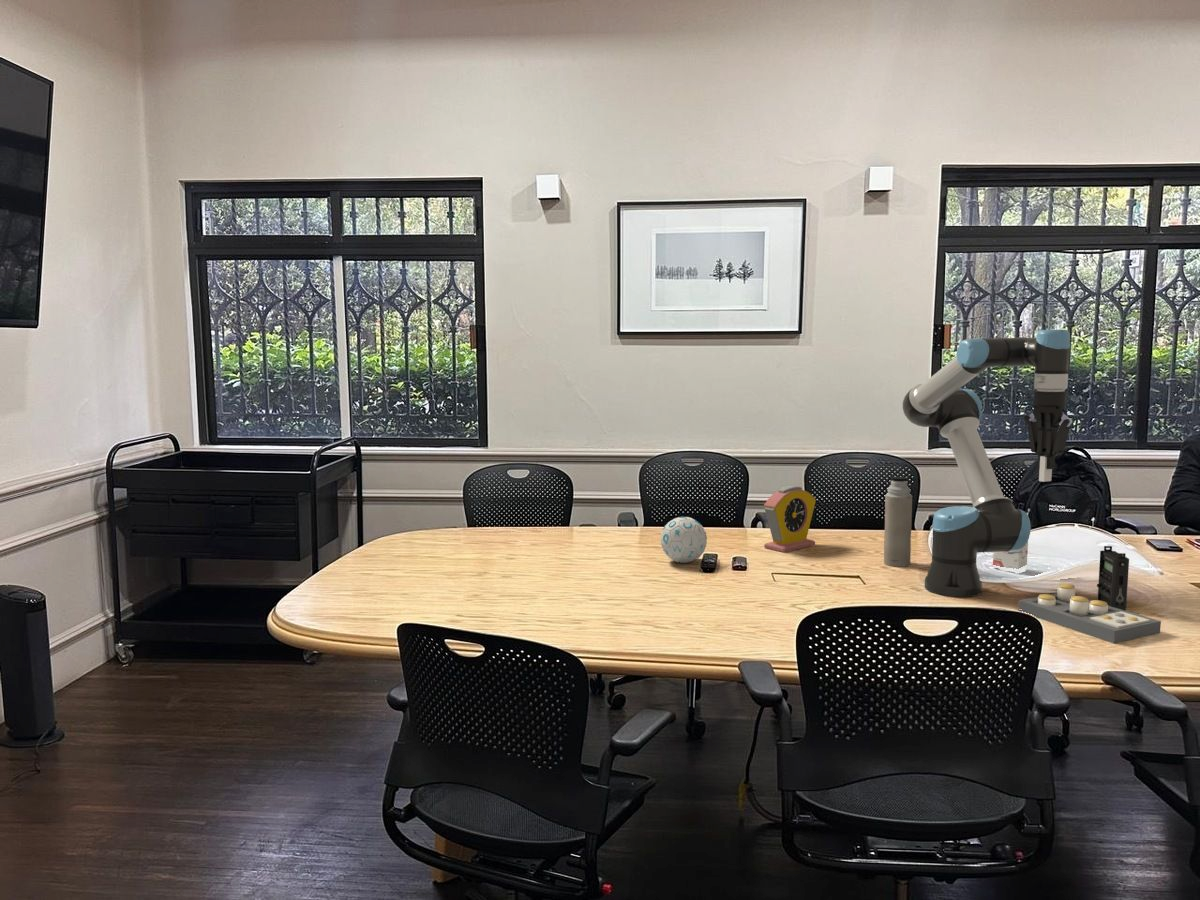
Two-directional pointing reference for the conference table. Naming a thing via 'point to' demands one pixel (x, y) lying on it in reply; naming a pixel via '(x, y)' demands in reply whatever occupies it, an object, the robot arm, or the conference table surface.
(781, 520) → the yellow mantel clock
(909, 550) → the thermos bottle
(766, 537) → the conference table surface
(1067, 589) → the button
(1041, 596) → the button
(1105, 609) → the yellow topped white button
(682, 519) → the puzzle ball
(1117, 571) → the geiger counter
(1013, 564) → the ink cartridge box
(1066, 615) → the button board
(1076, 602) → the white jar yellow lid
